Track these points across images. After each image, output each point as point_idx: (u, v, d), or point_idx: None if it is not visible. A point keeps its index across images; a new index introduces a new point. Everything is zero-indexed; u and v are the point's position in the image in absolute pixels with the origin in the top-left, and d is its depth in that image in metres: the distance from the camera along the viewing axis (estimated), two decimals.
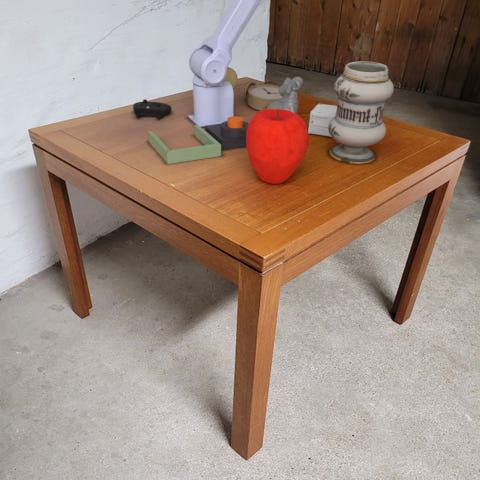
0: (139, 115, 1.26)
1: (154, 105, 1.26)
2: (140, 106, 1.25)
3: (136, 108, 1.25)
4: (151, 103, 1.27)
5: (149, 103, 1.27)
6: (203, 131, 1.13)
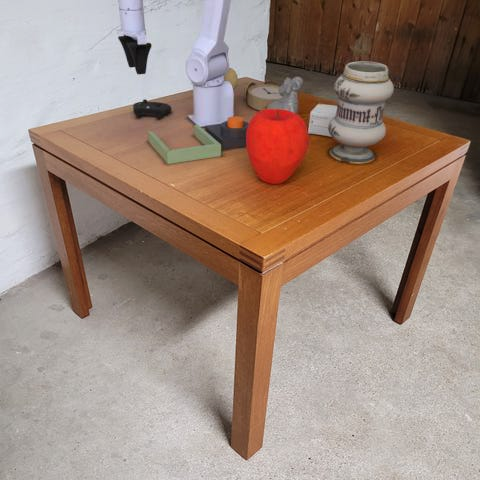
0: (139, 115, 1.26)
1: (154, 105, 1.26)
2: (140, 106, 1.25)
3: (136, 108, 1.25)
4: (151, 103, 1.27)
5: (149, 103, 1.27)
6: (203, 131, 1.13)
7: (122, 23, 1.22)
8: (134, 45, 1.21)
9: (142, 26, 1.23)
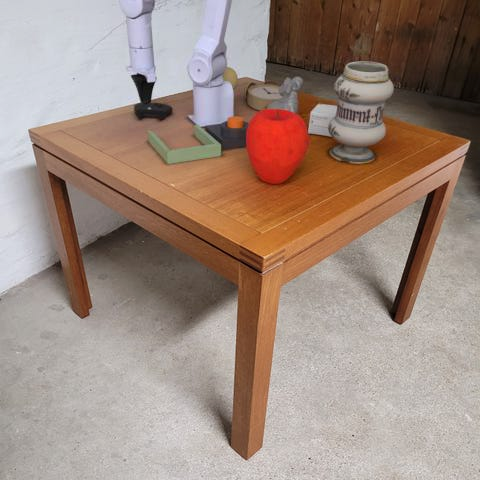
0: (140, 116, 1.25)
1: (155, 106, 1.25)
2: (141, 107, 1.25)
3: (137, 109, 1.24)
4: (152, 104, 1.26)
5: (150, 104, 1.26)
6: (203, 131, 1.13)
7: (132, 60, 1.22)
8: (139, 79, 1.24)
9: (151, 63, 1.23)
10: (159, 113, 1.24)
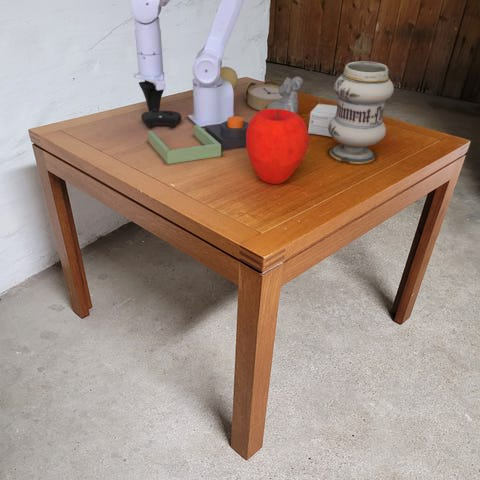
0: (151, 125, 1.21)
1: (166, 114, 1.21)
2: (152, 116, 1.20)
3: (148, 118, 1.20)
4: (162, 112, 1.22)
5: (160, 112, 1.21)
6: (203, 131, 1.13)
7: (140, 67, 1.17)
8: (148, 86, 1.19)
9: (160, 70, 1.18)
10: (171, 121, 1.20)
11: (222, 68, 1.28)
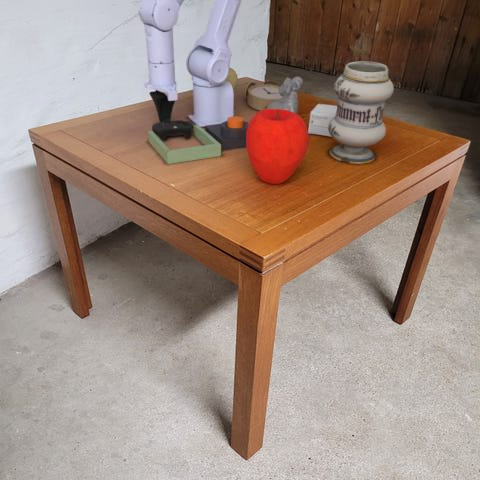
0: (165, 137, 1.15)
1: (180, 124, 1.16)
2: (166, 127, 1.14)
3: (163, 130, 1.14)
4: (175, 122, 1.16)
5: (173, 122, 1.16)
6: (203, 131, 1.13)
7: (151, 77, 1.11)
8: (159, 96, 1.13)
9: (172, 79, 1.12)
10: (186, 131, 1.15)
11: None
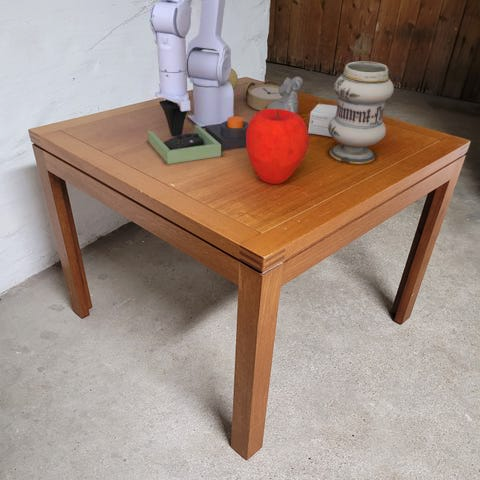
0: None
1: (192, 137, 1.12)
2: (184, 143, 1.09)
3: (183, 146, 1.09)
4: (185, 137, 1.12)
5: (184, 137, 1.11)
6: (203, 131, 1.13)
7: (162, 86, 1.06)
8: (171, 107, 1.07)
9: (185, 89, 1.07)
10: (202, 143, 1.12)
11: None
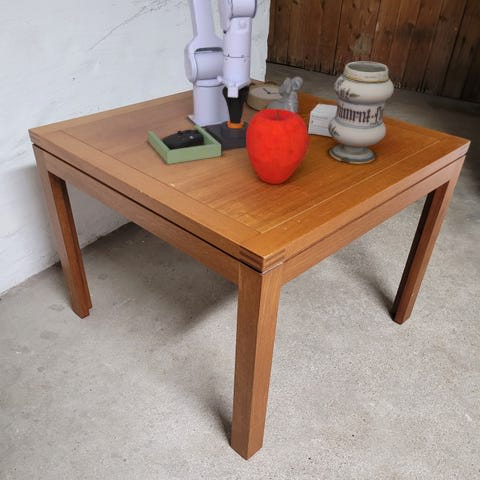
0: None
1: (192, 133, 1.11)
2: (184, 139, 1.09)
3: (183, 142, 1.08)
4: (185, 133, 1.11)
5: (184, 133, 1.11)
6: (203, 131, 1.13)
7: (223, 70, 1.05)
8: (227, 92, 1.06)
9: (243, 76, 1.04)
10: (202, 139, 1.12)
11: None
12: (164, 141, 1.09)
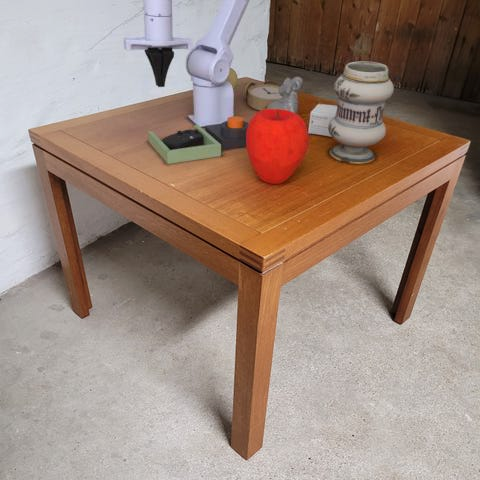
0: None
1: (192, 133, 1.11)
2: (184, 139, 1.09)
3: (183, 142, 1.08)
4: (185, 133, 1.11)
5: (184, 133, 1.11)
6: (203, 131, 1.13)
7: None
8: (145, 49, 1.08)
9: (150, 35, 1.04)
10: (202, 139, 1.12)
11: None
12: (164, 141, 1.09)
